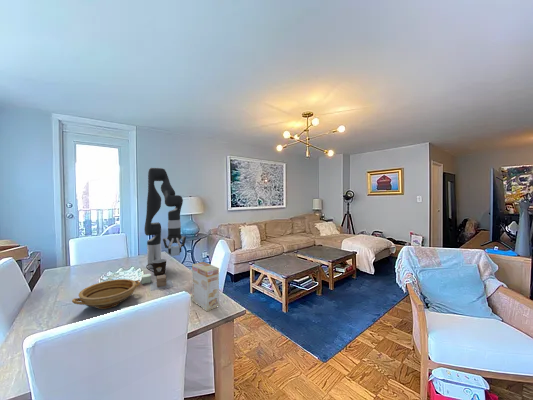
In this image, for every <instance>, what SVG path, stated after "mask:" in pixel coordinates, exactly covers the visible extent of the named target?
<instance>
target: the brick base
mask: <svg viewBox="0 0 533 400" xmlns="http://www.w3.org/2000/svg"><path fill="white" fill-rule="evenodd" d="M166 280H167V274H164V275H160V276H156V282H157V287H161V286H166Z"/></svg>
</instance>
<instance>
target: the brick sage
mask: <svg viewBox="0 0 533 400" xmlns="http://www.w3.org/2000/svg"><path fill="white" fill-rule="evenodd" d="M151 278H152V274H151V273H146V274H145V273H144V274H141V284H142V285H143V284H149V283H152V279H151Z"/></svg>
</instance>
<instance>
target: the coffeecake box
mask: <svg viewBox="0 0 533 400" xmlns="http://www.w3.org/2000/svg"><path fill="white" fill-rule="evenodd" d="M191 267H192V269H191V273H192V274H191V275H192V277H191V278H192V279H191V280H192V281H191V282H192V287H191V288H192V289H191V290H192V302H193V301H194V302H193V303H195V304H196V303H197V304H198V305H197V304H196V305H197V306H199V307H200V306H201V307H200V308H201V309H203V308H204V309H205V310H204V311H206V312H209V311H211V309H212V310H214V309H213V308H215V307H217V306H219V307H220V276H219V275H220V272H219V271H220V268H219V267H217V266H215V265H212V264H210V263H208V262H204V261H201V262H197V263H193V264H192V265H191ZM217 308H218V307H217ZM215 309H216V308H215ZM208 310H209V311H208Z"/></svg>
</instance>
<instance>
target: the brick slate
mask: <svg viewBox="0 0 533 400" xmlns="http://www.w3.org/2000/svg"><path fill="white" fill-rule="evenodd" d="M180 255H181V252H180V247H179V245H171V255H170V257H176V256H180Z"/></svg>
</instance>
